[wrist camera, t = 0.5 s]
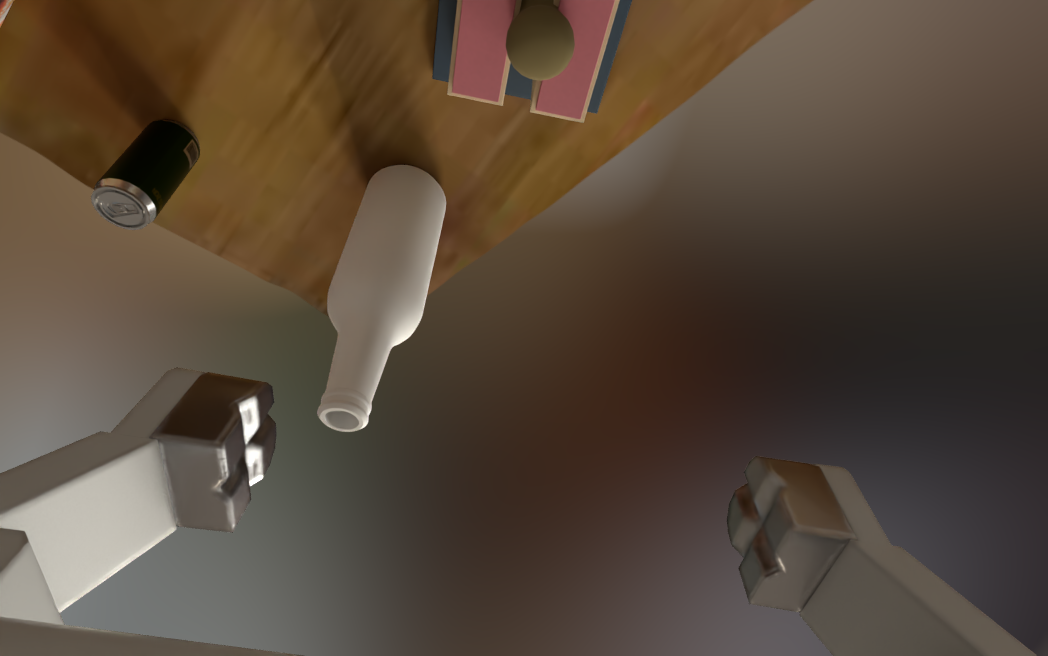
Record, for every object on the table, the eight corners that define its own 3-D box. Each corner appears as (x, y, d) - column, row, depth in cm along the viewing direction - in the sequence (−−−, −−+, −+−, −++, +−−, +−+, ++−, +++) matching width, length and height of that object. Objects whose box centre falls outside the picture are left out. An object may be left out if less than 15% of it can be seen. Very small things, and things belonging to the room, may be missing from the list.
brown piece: (551, -60, 49) (548, -8, 42) (592, 5, 52) (596, 63, 45) (494, -11, 52) (481, 45, 45) (536, 47, 55) (531, 107, 48)
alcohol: (354, 197, 69) (267, 421, 49) (393, 145, 64) (314, 372, 44) (420, 237, 73) (364, 460, 53) (462, 191, 68) (418, 419, 48)
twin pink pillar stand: (451, -129, 46) (437, -102, 41) (653, -78, 48) (663, -46, 43) (433, 73, 58) (421, 114, 53) (596, 108, 60) (599, 150, 55)
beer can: (188, 115, 62) (132, 184, 54) (211, 161, 66) (162, 231, 58) (138, 116, 63) (75, 185, 55) (164, 162, 67) (109, 232, 59)
